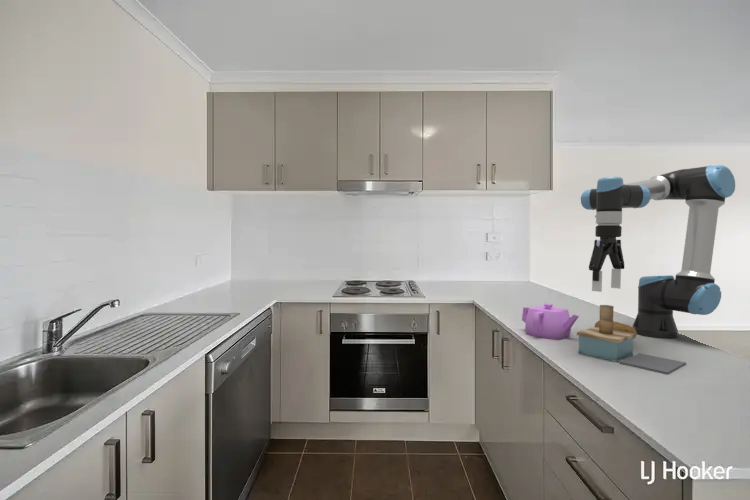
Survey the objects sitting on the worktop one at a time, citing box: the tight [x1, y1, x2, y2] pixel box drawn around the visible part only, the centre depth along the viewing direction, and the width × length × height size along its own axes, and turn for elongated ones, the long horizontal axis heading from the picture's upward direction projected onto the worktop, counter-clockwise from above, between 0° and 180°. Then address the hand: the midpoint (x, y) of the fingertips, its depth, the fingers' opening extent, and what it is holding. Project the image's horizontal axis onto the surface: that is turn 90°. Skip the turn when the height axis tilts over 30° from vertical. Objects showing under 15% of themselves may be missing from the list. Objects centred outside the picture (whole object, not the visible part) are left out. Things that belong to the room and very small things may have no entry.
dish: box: [578, 335, 634, 362], centre depth 145 cm, size 12×12×6 cm
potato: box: [594, 320, 638, 340], centre depth 159 cm, size 10×14×8 cm
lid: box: [576, 304, 637, 343], centre depth 145 cm, size 13×13×10 cm
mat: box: [619, 352, 687, 375], centre depth 134 cm, size 15×13×1 cm
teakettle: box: [521, 302, 580, 341], centre depth 172 cm, size 17×17×12 cm
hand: (606, 289), depth 144 cm, fingers open, 13 cm apart
